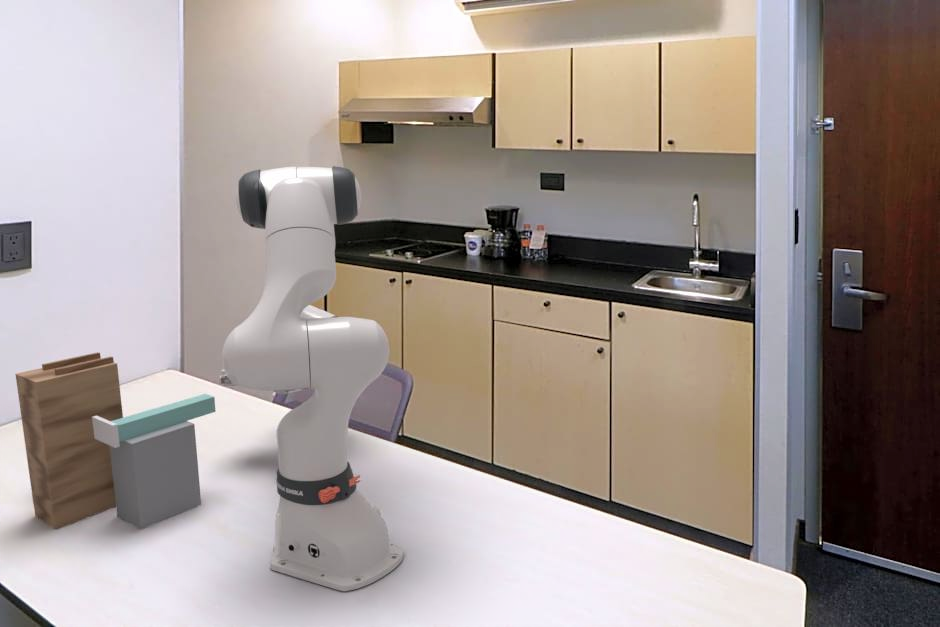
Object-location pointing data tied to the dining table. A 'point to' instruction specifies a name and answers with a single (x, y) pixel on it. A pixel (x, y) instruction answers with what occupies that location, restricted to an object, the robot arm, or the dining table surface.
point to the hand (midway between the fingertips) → (240, 380)
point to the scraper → (151, 419)
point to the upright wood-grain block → (69, 436)
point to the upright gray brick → (156, 475)
